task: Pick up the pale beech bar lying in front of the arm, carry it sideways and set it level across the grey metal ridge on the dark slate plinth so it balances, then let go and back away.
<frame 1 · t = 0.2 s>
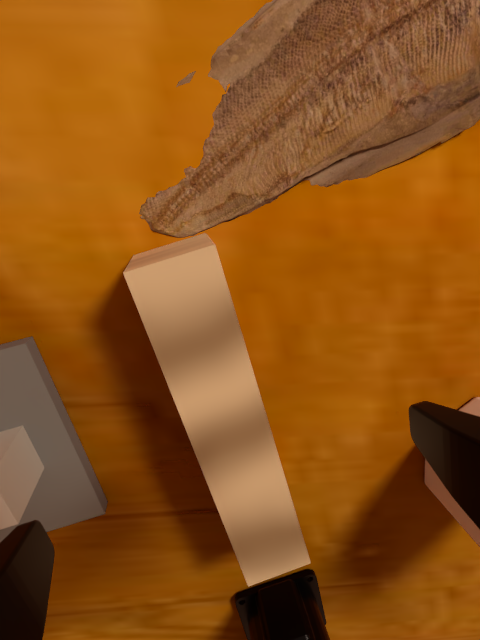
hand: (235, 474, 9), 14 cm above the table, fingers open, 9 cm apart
fish fossil: (336, 76, 20), on the table
beech bar: (222, 396, 24), on the table
jar: (468, 444, 29), on the table
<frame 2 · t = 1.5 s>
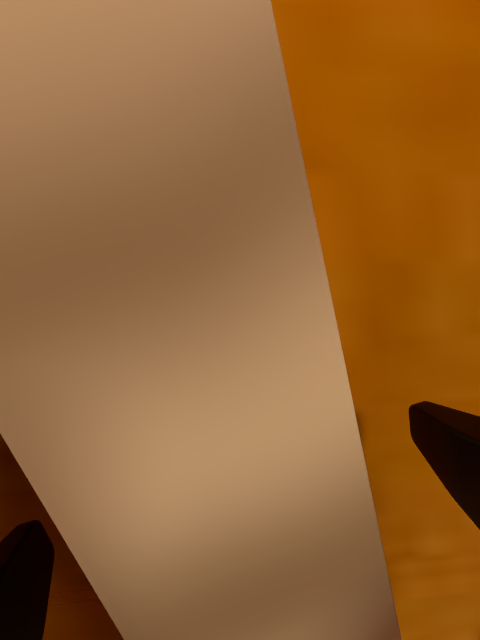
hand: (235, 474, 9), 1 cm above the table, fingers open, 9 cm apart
beech bar: (225, 431, 10), on the table
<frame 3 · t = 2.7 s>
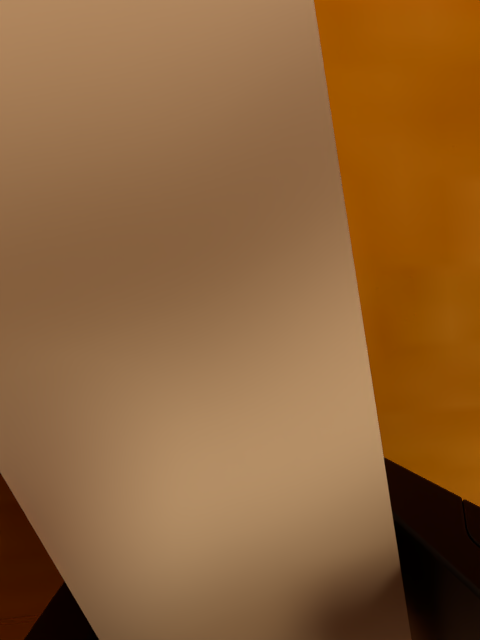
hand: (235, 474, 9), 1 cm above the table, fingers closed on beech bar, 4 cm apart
beech bar: (228, 442, 10), on the table, touching gripper
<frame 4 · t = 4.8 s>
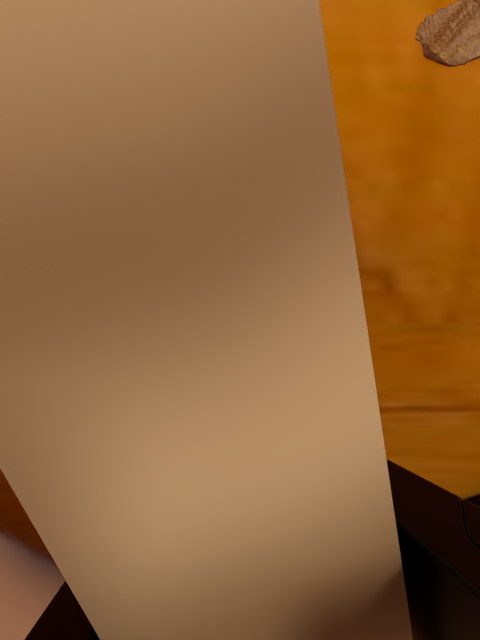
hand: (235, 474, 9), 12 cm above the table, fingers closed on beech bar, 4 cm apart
beech bar: (228, 440, 10), point 11 cm above the table, touching gripper
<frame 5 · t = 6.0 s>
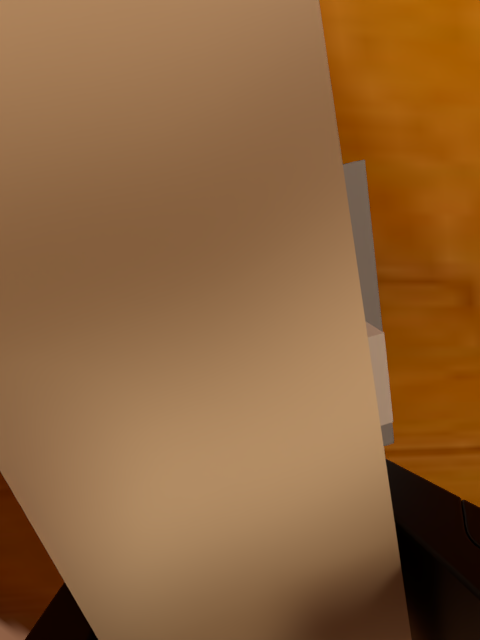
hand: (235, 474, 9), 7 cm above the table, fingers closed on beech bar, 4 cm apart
fulcrum: (207, 358, 15), on the table
beech bar: (227, 440, 10), point 6 cm above the table, touching gripper
when the fingers open (7 cm above the table, at t = 6.8 s): beech bar stays where it is, resting on fulcrum.
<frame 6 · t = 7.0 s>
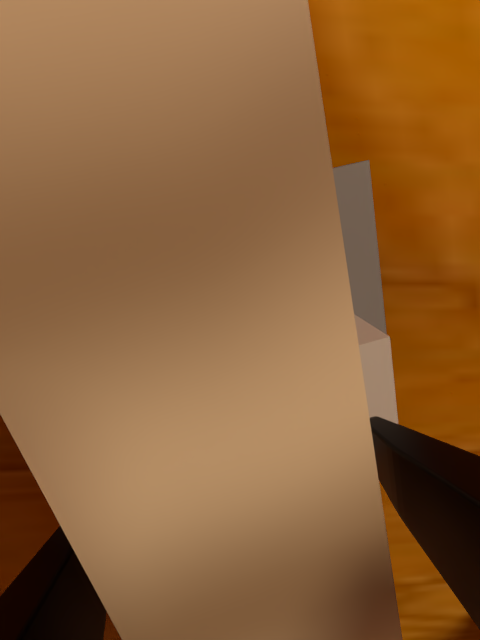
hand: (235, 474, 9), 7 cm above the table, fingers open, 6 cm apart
fulcrum: (209, 361, 15), on the table
beech bar: (226, 433, 10), point 5 cm above the table, touching fulcrum
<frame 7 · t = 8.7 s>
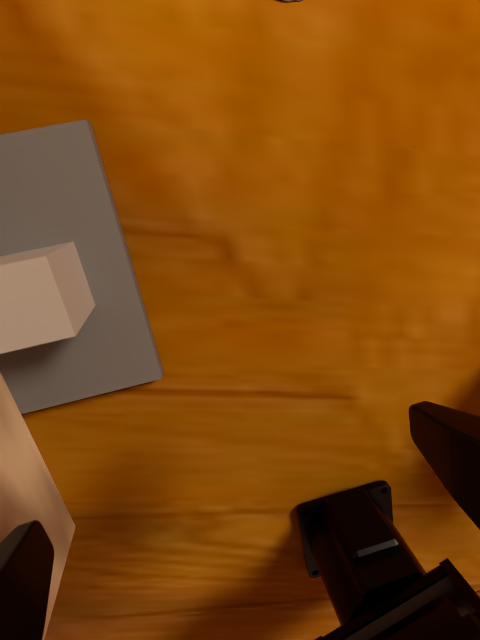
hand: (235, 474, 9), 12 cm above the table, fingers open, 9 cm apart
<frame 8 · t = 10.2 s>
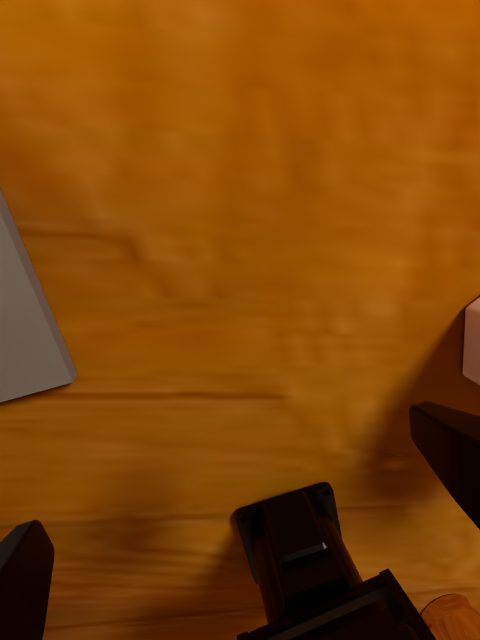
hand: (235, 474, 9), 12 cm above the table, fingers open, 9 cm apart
cup with straw: (445, 610, 31), on the table
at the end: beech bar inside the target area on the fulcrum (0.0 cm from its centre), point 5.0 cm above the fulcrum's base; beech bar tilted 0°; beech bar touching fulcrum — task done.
